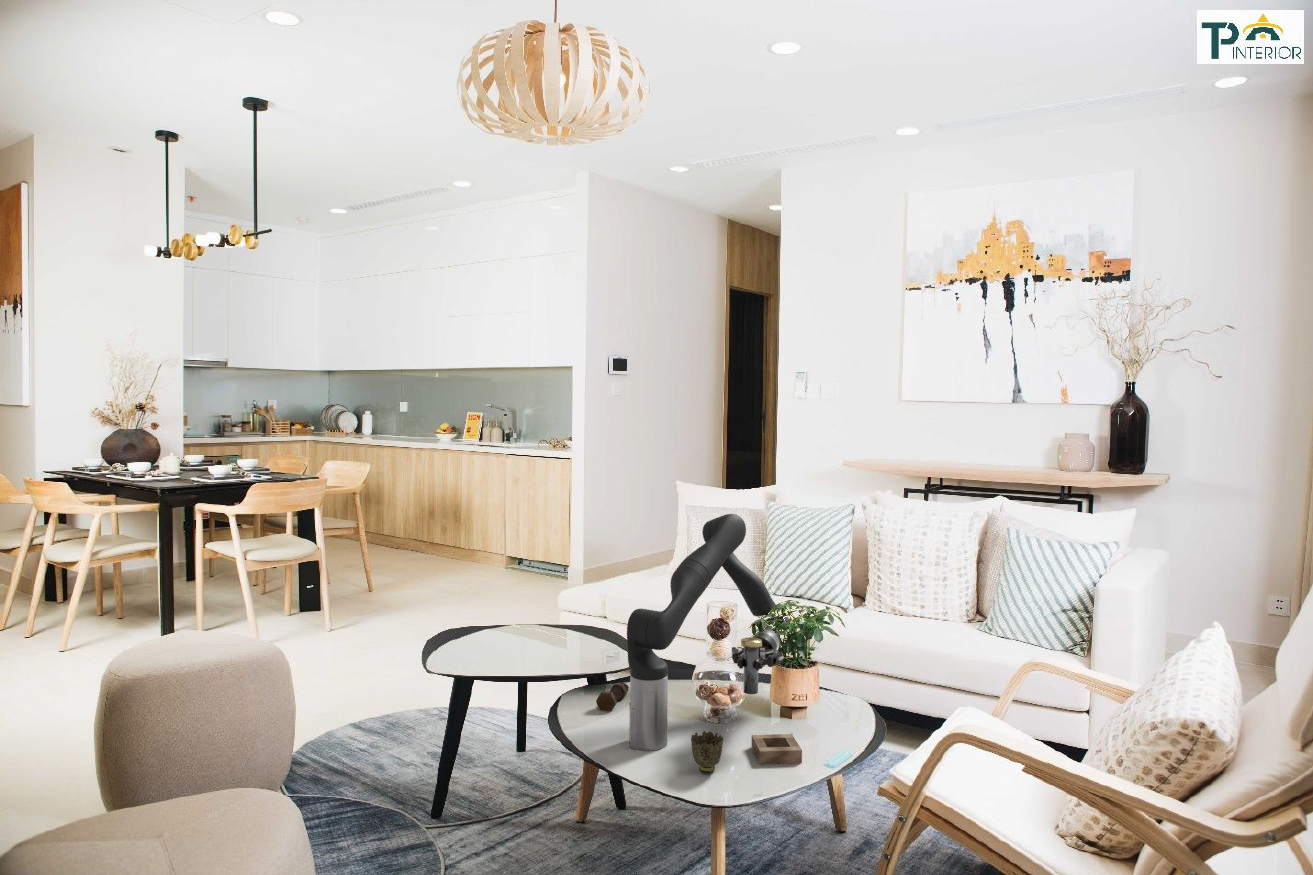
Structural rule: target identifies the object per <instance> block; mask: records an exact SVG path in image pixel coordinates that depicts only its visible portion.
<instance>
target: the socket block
mask: <svg viewBox="0 0 1313 875" xmlns="http://www.w3.org/2000/svg"><path fill="white" fill-rule="evenodd" d="M751 749H752V751H753V753H754V752H755V753H754V755H755V756H756V759H757V761H758V763H759V764H760V765H770V764H774V765H775V764H776V765H777V764H802V763H803V749H802V748H801V746H800V744H799V743H798V741H797V740H796V738H795V736H794V735H793V733H780V734H778V733H777V734H751Z"/></svg>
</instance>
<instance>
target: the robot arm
mask: <svg viewBox="0 0 1313 875" xmlns="http://www.w3.org/2000/svg"><path fill="white" fill-rule="evenodd" d="M701 531H702V538H703V540H704V543H703V544H702V545H701V546H699V547H697V548H696V549H695V550H694V551H693V552H691V553H690V554H689V555H687V556H686V557H685V558H684V559H683V560H682V561H681V562H680V564H679V565H678V566H677V568H676V569H675V571H674V572H673V573H672V575H671V578H670V594H671V600H670V602H669V604H668V605H667V607H666V608H665V609H664V610H661V611H660V610H659V611H658V610H653V609H648V608H637V609H634V610H633V611H632V612H631V613H630V615H629V617H628V621H627V625H626V646H627V664H628V667H629V671H630V672H629V673H630V676H629V677H630V679H629V680H630V686H629V687H630V690H629V691H630V692H629V693H630V694H629V697H630V698H629V699H630V702H629V728H628V729H629V734H628V735H629V746H630V749H635V750H636V749H637V750H641V751H657V750H661V749H664V748H666V747H667V745H668V709H669V708H668V702H669V700H668V698H669V697H668V696H669V692H668V691H669V689H668V684H669V683H668V681H669V674H668V673H669V667H668V663H667V662H666V661H665V660H664V659H662V658H660V656H658V655H657V654H656V653H655V652H654V651H653V650H655V651H663V650H665V649H667V648H668V647H669V646H670V645H671V644H672V643H673V641H674V639H675V638H676V636H677V635H678V633H679V631H680V629H681V627H682V626H683V623H684V621H685V620H686V618H687V616H688V614H690V611H691V610H692V609H693V607H694V606H695V604H696V603H697V601H698V600H699V599H700V597H701V596H702V594H703V593H704V592H705V591H706V589H707V588H708V587H709V585H710V584H711V582H712V580H713V579H714V578H715V576H716V575H717V574H718V572H719V570H720V569H721V568H723V570H724V571H725V573H727V575H728V576H729V577H730V579H731V580H732V581H733V582H734V585H735V587H736V588H737V589H738V590H739V593H740V595H741V596H742V598H743V600H744V601H745V604H746V605H747V608H748V609H749V611H750V613H751V614H752V616H754V617H765V616H767V615H768V613H769V612H770V610H771V609H772V608H773V607H774V606H778V605H777V604H776V602H775V601H774V600H773V598H772V596H771V594H770V593H769V590H768V589H767V586H766V585H765V583H764V582H763V581H762V579H761V578H760V577H759V576H758V575H757V574H756V573H755V572H754V571H753V570H751V569H750V568H748V567H747V566H746V565H745V564H744V563H742V561H741V560H740V559H738V557H737V555H735V553H734V552H735V550H737V549H738V547H739V546H740V545H741V544H742V543H743V542H744V540H745V538H746V535H747V525H746V523H745V520H744V519H743V518H742V517H741V516H740V515H739V514H736V513H735V514H734V513H726V514H723V515H720V516H717V517H715V518H713V519H710V520H709V521H706V522H705V523H704V525H703V527H702V530H701ZM767 617H768V616H767ZM784 619H785V621H789V619H790V618H789V617H788V616H787V617H785V618H784ZM754 634H755V635H753V636H752V637H751V638H758V639H761V640H762V646H761V647H759V655H758V659H757V661H756V670H758V671H760V670H761V669H763V668H765V667H766V666H767V668H772V667H775V666H778V665H779V664H782V663H783V662H784V661H783V658H784V657H783V655H784V653H783V651H779V649H780V647H781V645H780V642H781V641H780V637H779V635H778V634H777V633H775V631H773V630H772V626H767V627H766V628H765V629H764V631H763V632H761V633H759V634H758V632H757V634H756V633H754ZM757 635H758V636H757ZM731 660H732V661H733V663H734V664H736V666H737V667H738V669H744V647H742V649H741V650H740V649H739V648H737V647H736V646H732V647H731Z"/></svg>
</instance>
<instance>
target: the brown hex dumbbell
mask: <svg viewBox="0 0 1313 875" xmlns="http://www.w3.org/2000/svg"><path fill="white" fill-rule="evenodd" d="M629 687H630V686H629V685H628V684H627V683H626V682H616V683H613V685H612V687H611V688H610V689H609V691H605V690H602V691H601V692H600V693H599V695H598V697H597V698H596V699H595V700H596V705H597V708H598V710H600V711H602V712H606V713H607V712H609V713H610V712H613V710H614V709H615V706H616V705H617V704H618V701H622V700H624V699H625V698H626V695H627V694H628V692H629Z"/></svg>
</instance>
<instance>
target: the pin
mask: <svg viewBox="0 0 1313 875" xmlns="http://www.w3.org/2000/svg"><path fill="white" fill-rule="evenodd" d="M740 646H741V647H742V648H744V667H743V693H745V694H747V695H757V694H758V693H759V670H756V661H757V659H758V655H759V647H761V646H762V640H761V639H758V638H752V637H744V638H741V639H740Z"/></svg>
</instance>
